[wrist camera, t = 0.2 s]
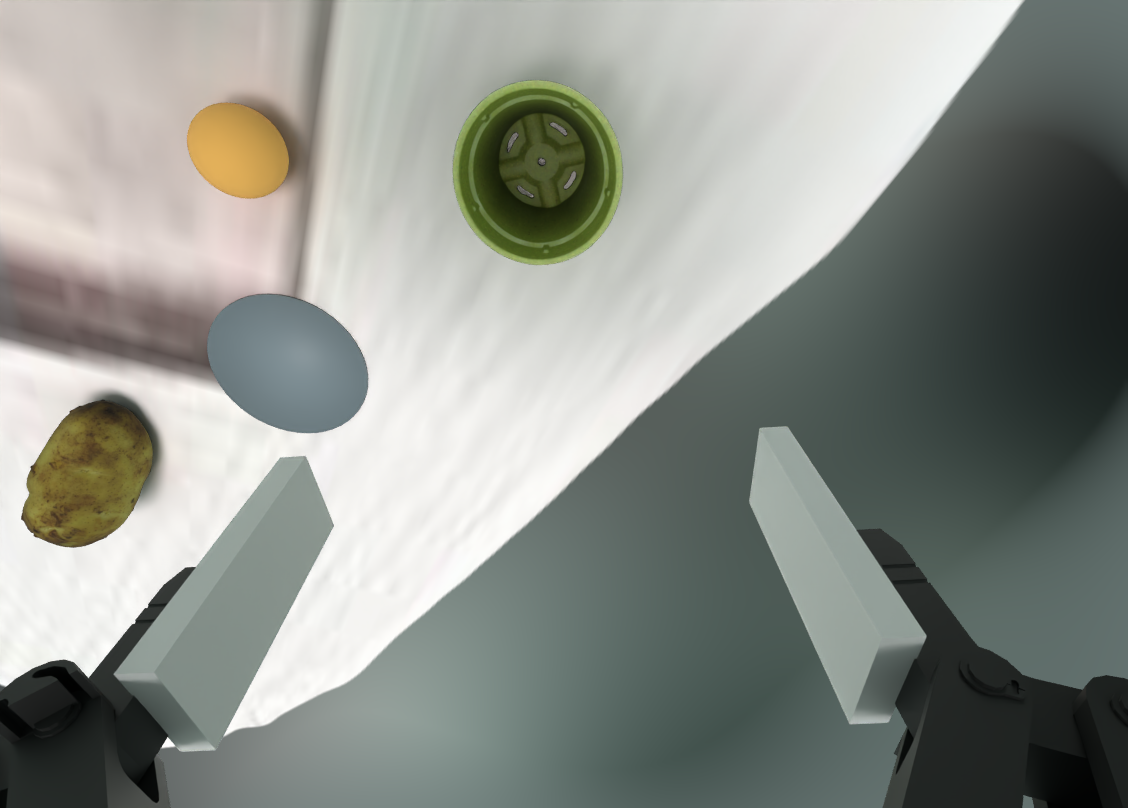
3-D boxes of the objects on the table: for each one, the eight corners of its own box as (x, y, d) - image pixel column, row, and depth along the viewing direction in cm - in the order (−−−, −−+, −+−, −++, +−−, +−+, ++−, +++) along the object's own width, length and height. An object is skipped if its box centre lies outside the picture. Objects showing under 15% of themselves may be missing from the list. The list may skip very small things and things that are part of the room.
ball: (204, 107, 35) (147, 110, 30) (284, 96, 34) (240, 97, 30) (239, 195, 37) (193, 210, 33) (314, 186, 37) (278, 200, 32)
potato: (198, 436, 48) (137, 494, 41) (140, 511, 53) (76, 574, 46) (105, 379, 45) (23, 431, 38) (52, 464, 50) (-30, 524, 43)
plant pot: (637, 133, 35) (657, 144, 28) (568, 254, 40) (569, 292, 32) (513, 50, 33) (498, 39, 26) (453, 189, 37) (426, 214, 30)
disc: (179, 303, 41) (177, 304, 41) (338, 285, 41) (338, 286, 41) (248, 438, 48) (247, 439, 48) (386, 424, 47) (385, 426, 47)
